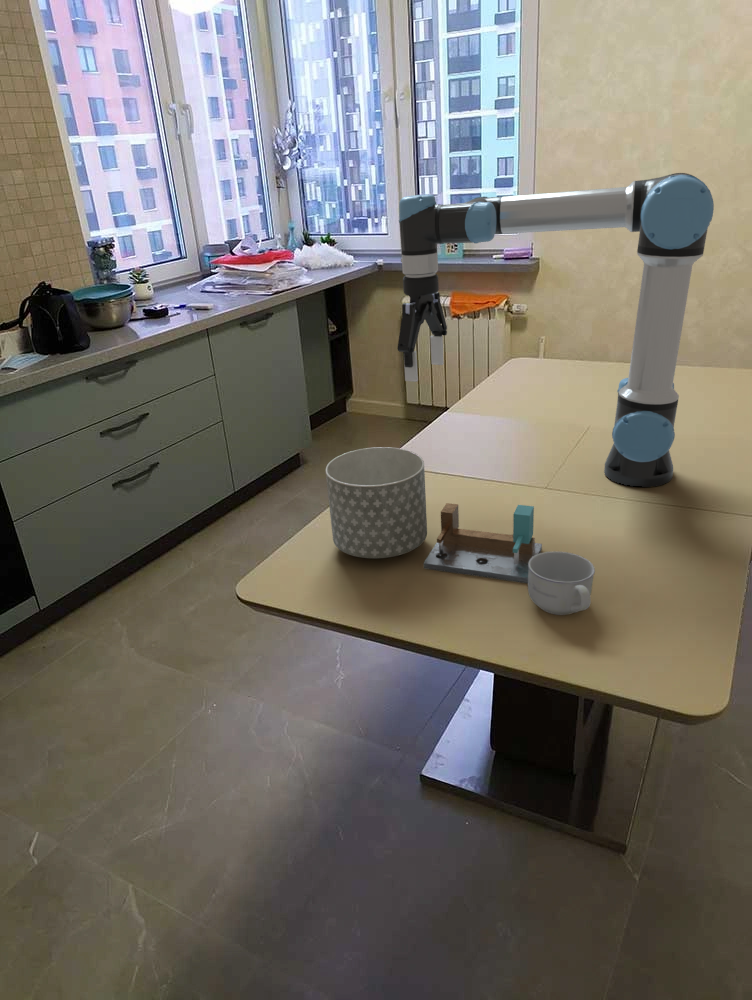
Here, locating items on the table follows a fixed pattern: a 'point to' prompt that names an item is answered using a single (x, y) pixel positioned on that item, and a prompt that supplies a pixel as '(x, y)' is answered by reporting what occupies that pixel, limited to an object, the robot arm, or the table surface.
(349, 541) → the planter
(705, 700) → the table surface
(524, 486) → the table surface
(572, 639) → the table surface
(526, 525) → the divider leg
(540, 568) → the teacup
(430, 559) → the gauge board
